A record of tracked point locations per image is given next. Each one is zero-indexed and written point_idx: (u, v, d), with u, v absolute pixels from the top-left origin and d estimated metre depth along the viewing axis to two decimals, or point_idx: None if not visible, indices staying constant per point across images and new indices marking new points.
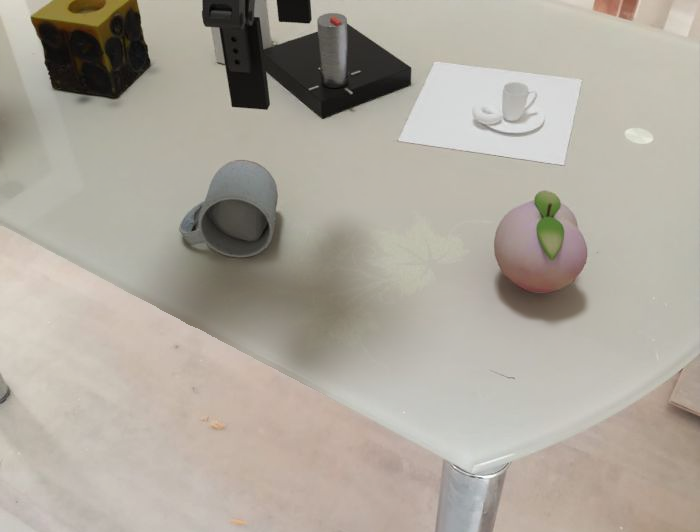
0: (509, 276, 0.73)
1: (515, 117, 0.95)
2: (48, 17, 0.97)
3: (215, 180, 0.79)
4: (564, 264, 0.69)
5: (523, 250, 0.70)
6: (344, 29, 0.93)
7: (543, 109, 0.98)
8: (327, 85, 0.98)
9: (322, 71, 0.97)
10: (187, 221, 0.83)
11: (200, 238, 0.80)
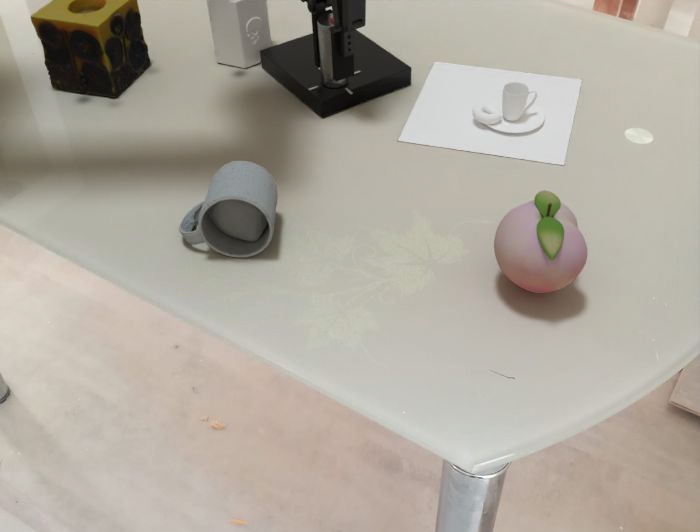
0: (509, 276, 0.73)
1: (515, 117, 0.95)
2: (48, 17, 0.97)
3: (215, 180, 0.79)
4: (564, 264, 0.69)
5: (523, 250, 0.70)
6: None
7: (543, 109, 0.98)
8: (327, 85, 0.98)
9: (322, 71, 0.97)
10: (187, 221, 0.83)
11: (200, 238, 0.80)
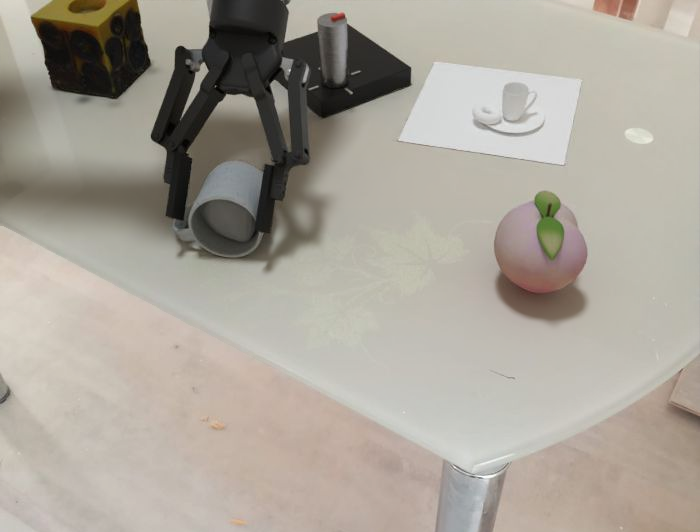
0: (509, 276, 0.73)
1: (515, 117, 0.95)
2: (48, 17, 0.97)
3: (208, 179, 0.79)
4: (564, 264, 0.69)
5: (523, 250, 0.70)
6: None
7: (543, 109, 0.98)
8: (346, 82, 0.99)
9: (342, 72, 0.97)
10: None
11: (191, 236, 0.81)
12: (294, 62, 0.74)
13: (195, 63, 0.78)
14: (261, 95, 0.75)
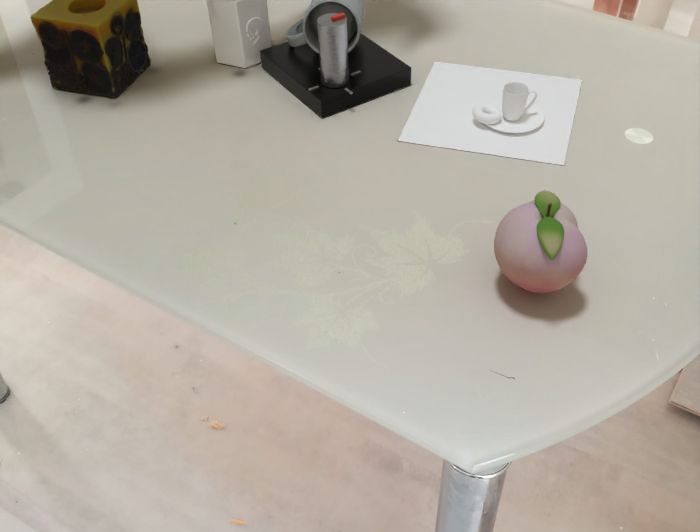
0: (509, 276, 0.73)
1: (515, 117, 0.95)
2: (48, 17, 0.97)
3: None
4: (564, 264, 0.69)
5: (523, 250, 0.70)
6: None
7: (543, 109, 0.98)
8: (346, 82, 0.99)
9: (342, 72, 0.97)
10: (291, 32, 1.06)
11: (302, 40, 1.03)
12: None
13: None
14: None
